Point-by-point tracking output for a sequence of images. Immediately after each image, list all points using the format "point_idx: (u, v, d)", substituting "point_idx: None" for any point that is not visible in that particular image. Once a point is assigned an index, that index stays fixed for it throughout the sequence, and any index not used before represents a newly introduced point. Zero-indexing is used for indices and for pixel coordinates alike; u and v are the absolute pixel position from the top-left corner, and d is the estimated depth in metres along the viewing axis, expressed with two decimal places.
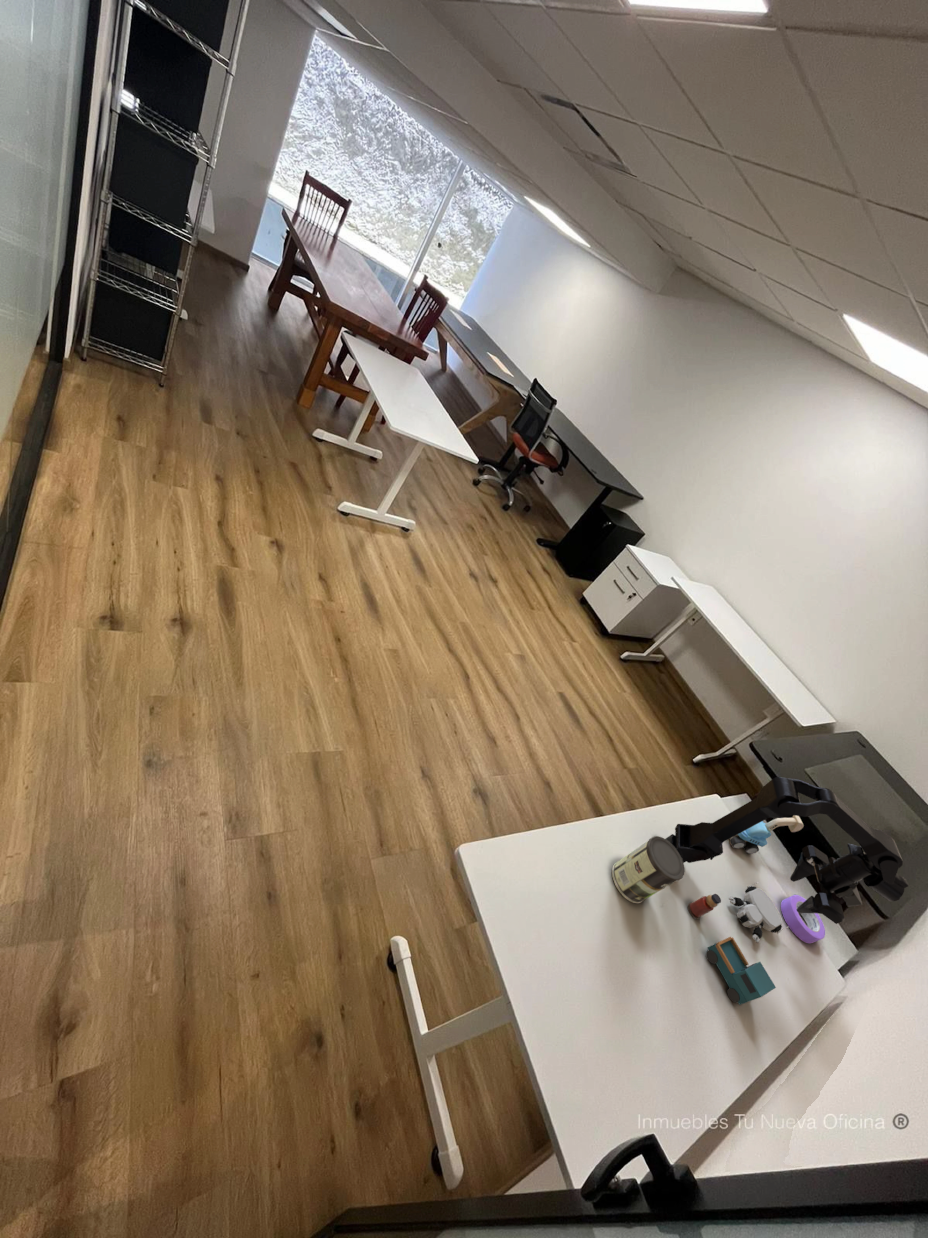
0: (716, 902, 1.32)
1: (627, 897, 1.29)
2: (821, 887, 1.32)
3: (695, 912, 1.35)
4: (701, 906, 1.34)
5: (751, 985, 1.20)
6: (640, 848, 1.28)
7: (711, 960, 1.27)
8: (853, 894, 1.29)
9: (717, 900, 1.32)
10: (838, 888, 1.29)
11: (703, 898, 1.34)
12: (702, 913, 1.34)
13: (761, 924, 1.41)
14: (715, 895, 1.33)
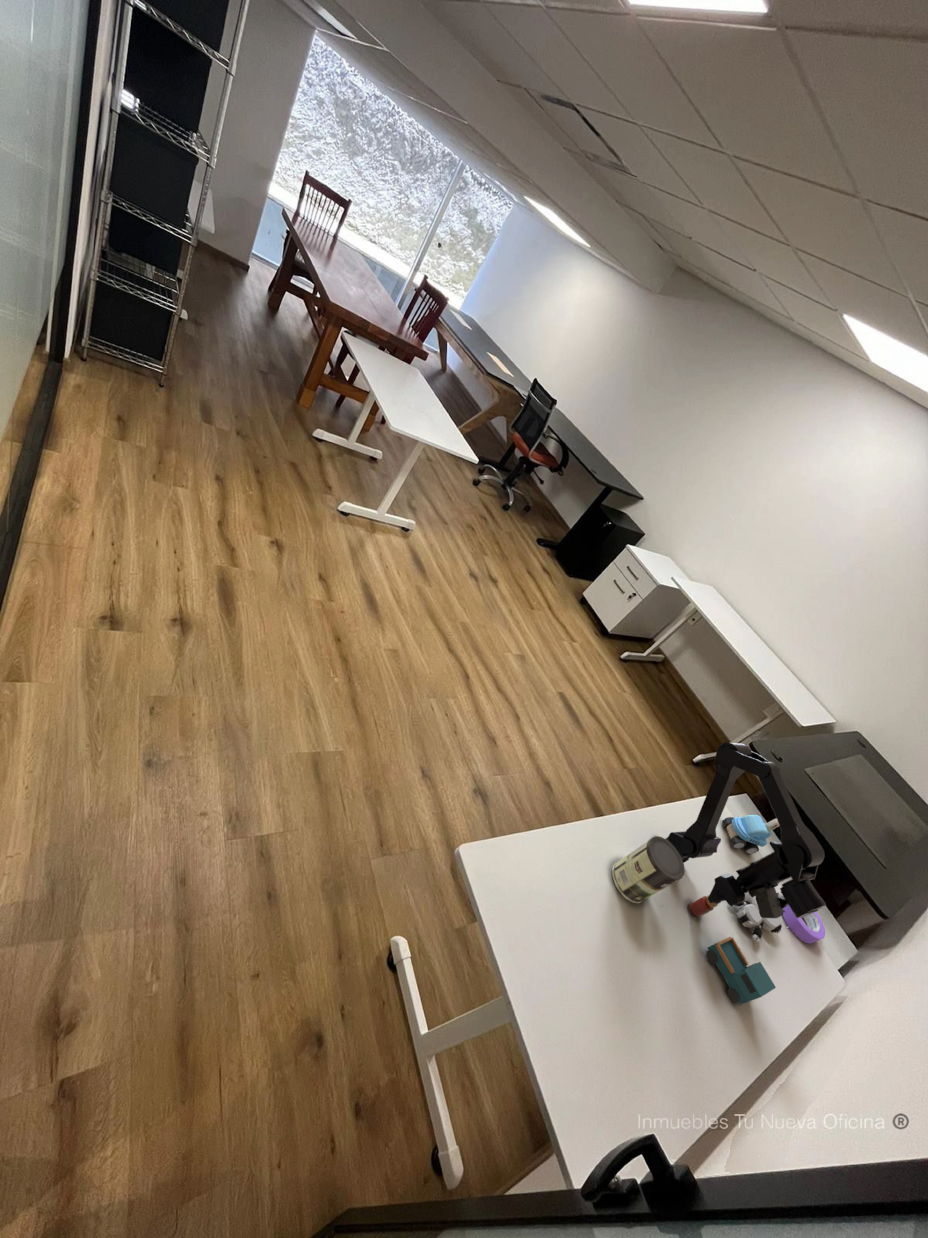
0: (716, 902, 1.32)
1: (627, 897, 1.29)
2: None
3: (695, 912, 1.35)
4: (701, 906, 1.34)
5: (751, 985, 1.20)
6: (640, 848, 1.28)
7: (711, 960, 1.27)
8: (766, 898, 1.21)
9: None
10: (752, 883, 1.24)
11: (703, 898, 1.34)
12: (702, 913, 1.34)
13: (761, 924, 1.41)
14: None
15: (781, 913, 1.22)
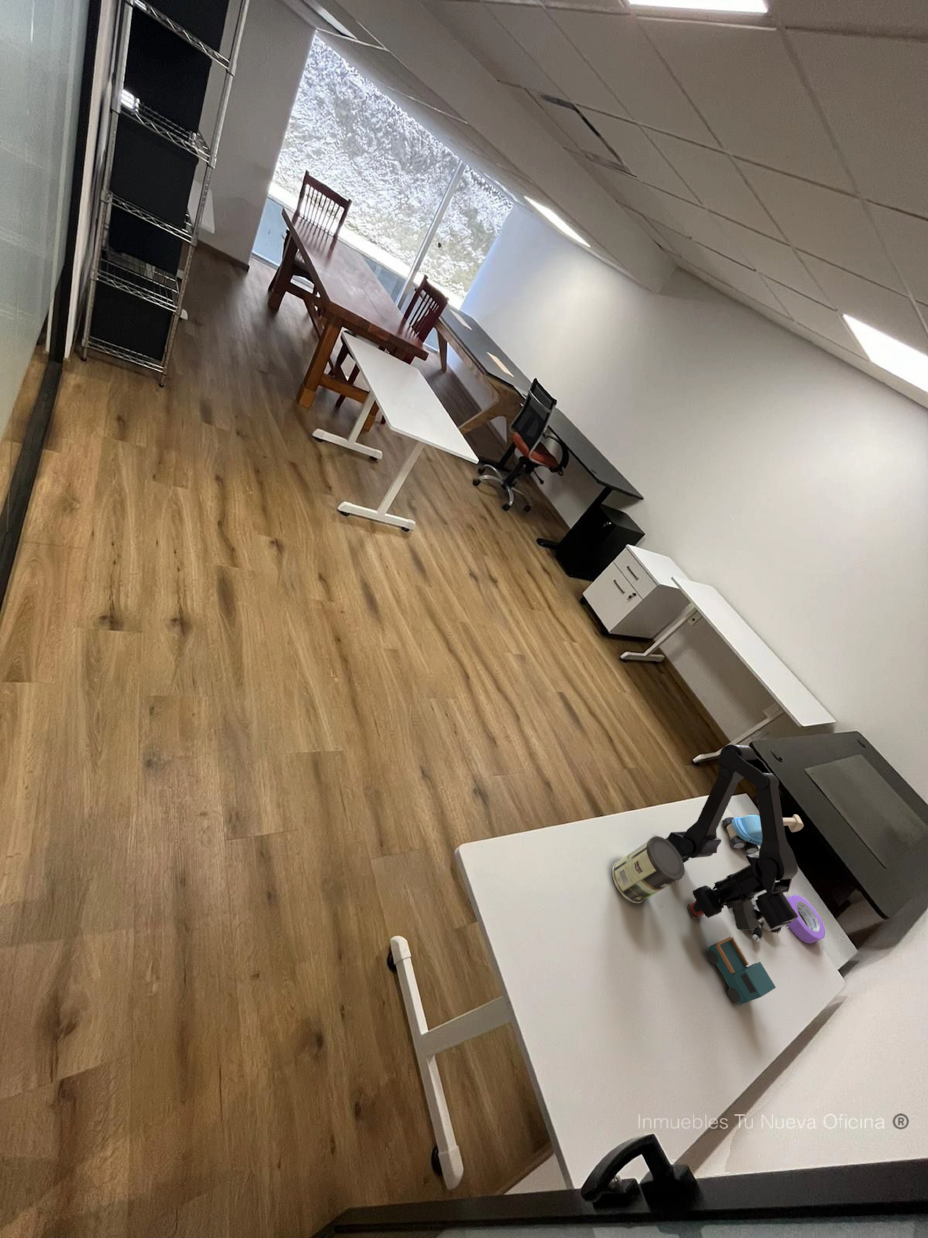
0: None
1: (627, 897, 1.29)
2: None
3: (695, 912, 1.35)
4: None
5: (751, 985, 1.20)
6: (640, 848, 1.28)
7: (711, 960, 1.27)
8: (742, 910, 1.25)
9: None
10: (729, 896, 1.28)
11: None
12: (702, 913, 1.34)
13: (761, 924, 1.41)
14: None
15: (757, 924, 1.26)
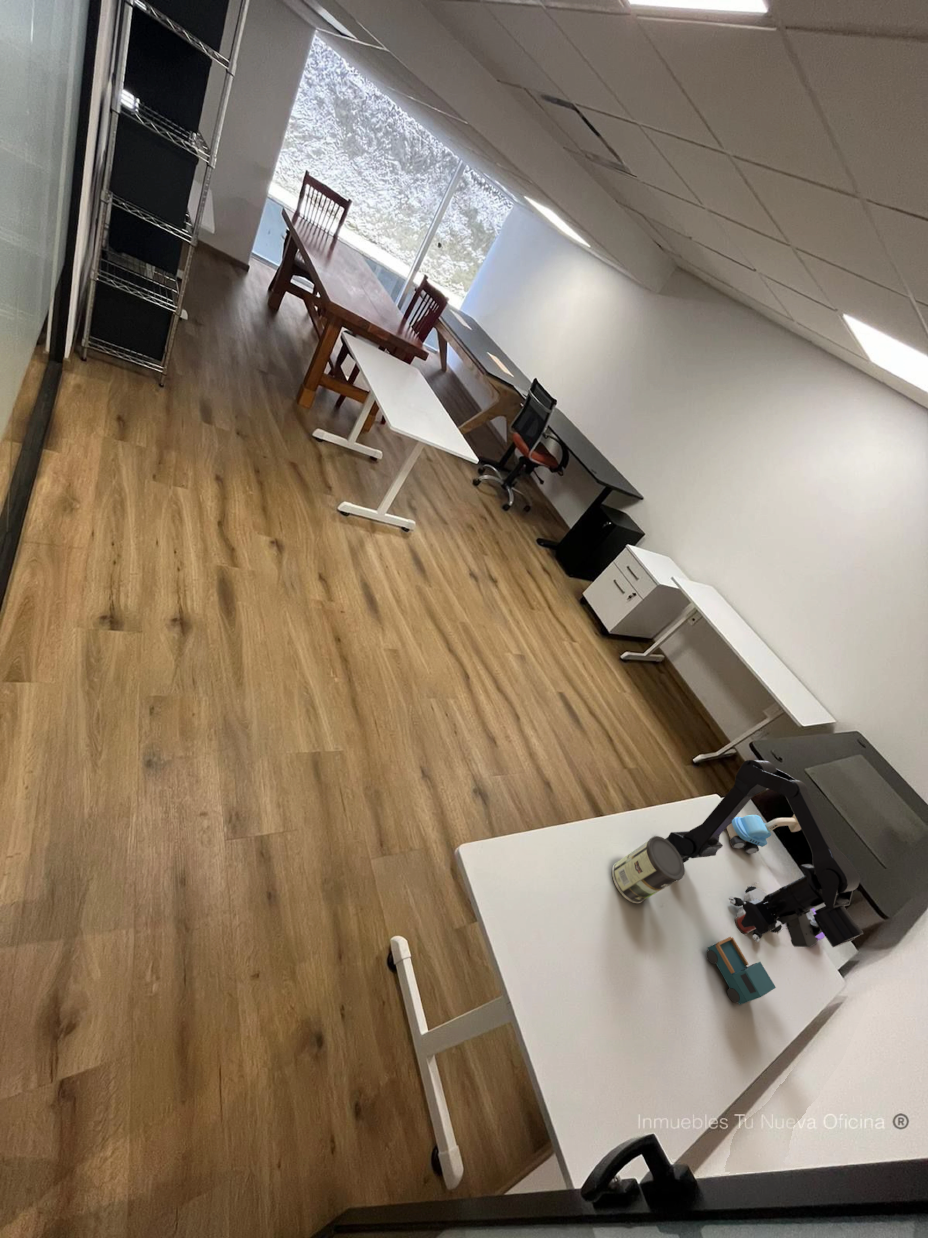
0: None
1: (627, 897, 1.29)
2: None
3: (743, 927, 1.25)
4: None
5: (751, 985, 1.20)
6: (640, 848, 1.28)
7: (711, 960, 1.27)
8: (798, 925, 1.15)
9: None
10: (782, 910, 1.17)
11: None
12: (751, 929, 1.24)
13: None
14: None
15: (814, 941, 1.15)
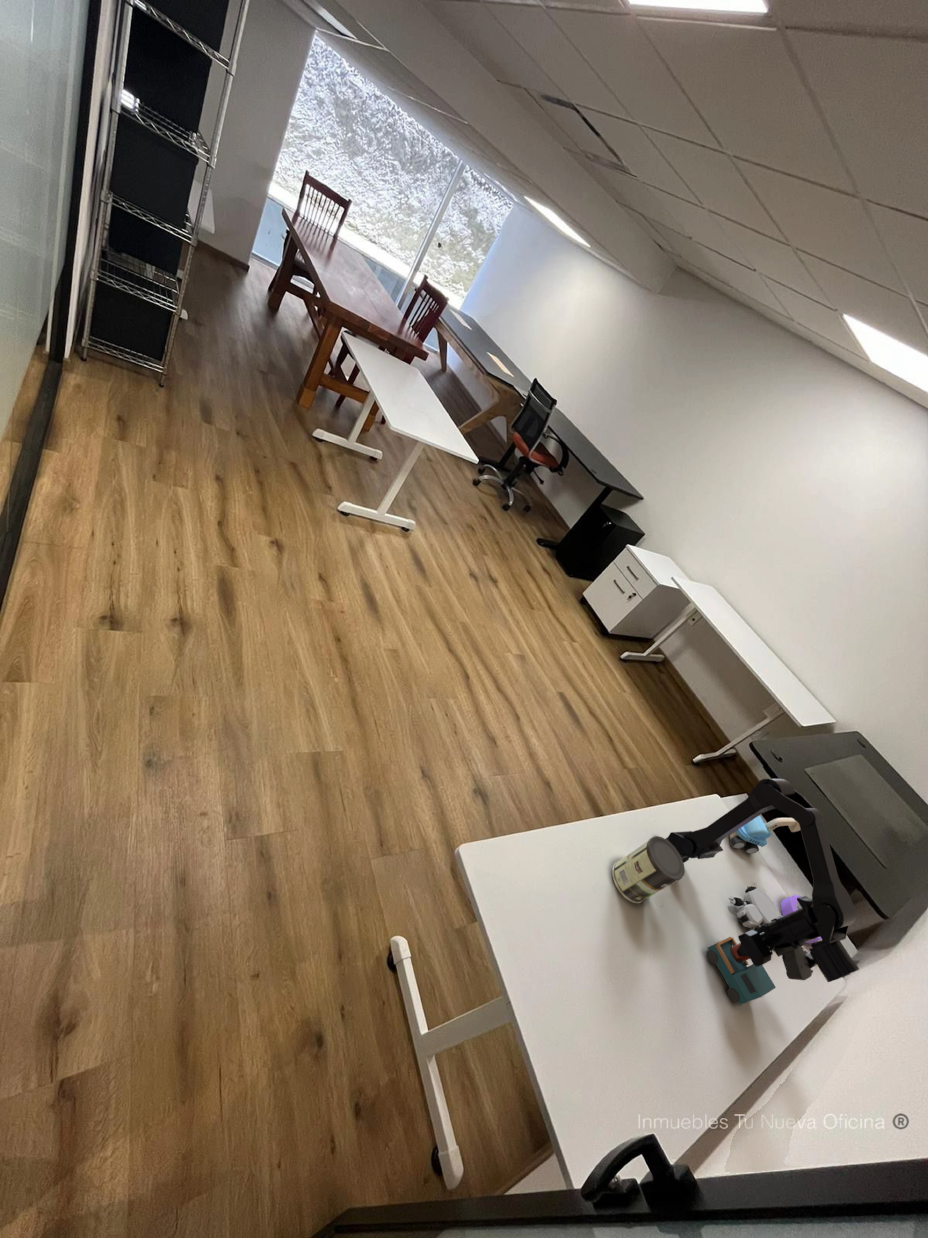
0: None
1: (627, 897, 1.29)
2: None
3: (739, 957, 1.24)
4: None
5: (751, 985, 1.20)
6: (640, 848, 1.28)
7: (711, 960, 1.27)
8: (794, 958, 1.15)
9: None
10: (778, 941, 1.17)
11: None
12: (747, 958, 1.24)
13: (761, 924, 1.41)
14: None
15: (809, 974, 1.15)
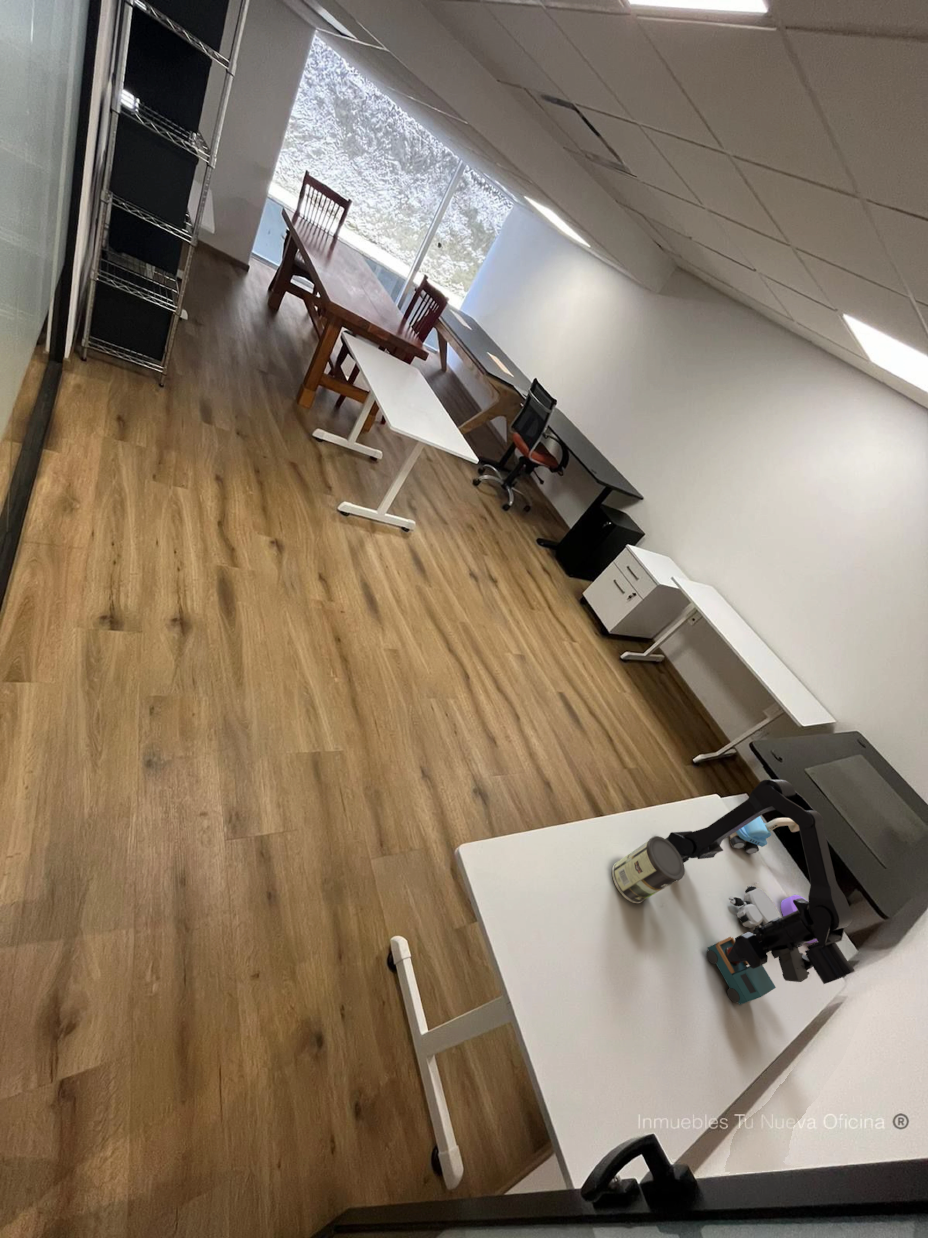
0: None
1: (627, 897, 1.29)
2: None
3: None
4: None
5: (751, 985, 1.20)
6: (640, 848, 1.28)
7: (711, 960, 1.27)
8: (790, 960, 1.15)
9: None
10: (774, 943, 1.18)
11: None
12: None
13: (761, 924, 1.41)
14: None
15: (806, 976, 1.16)
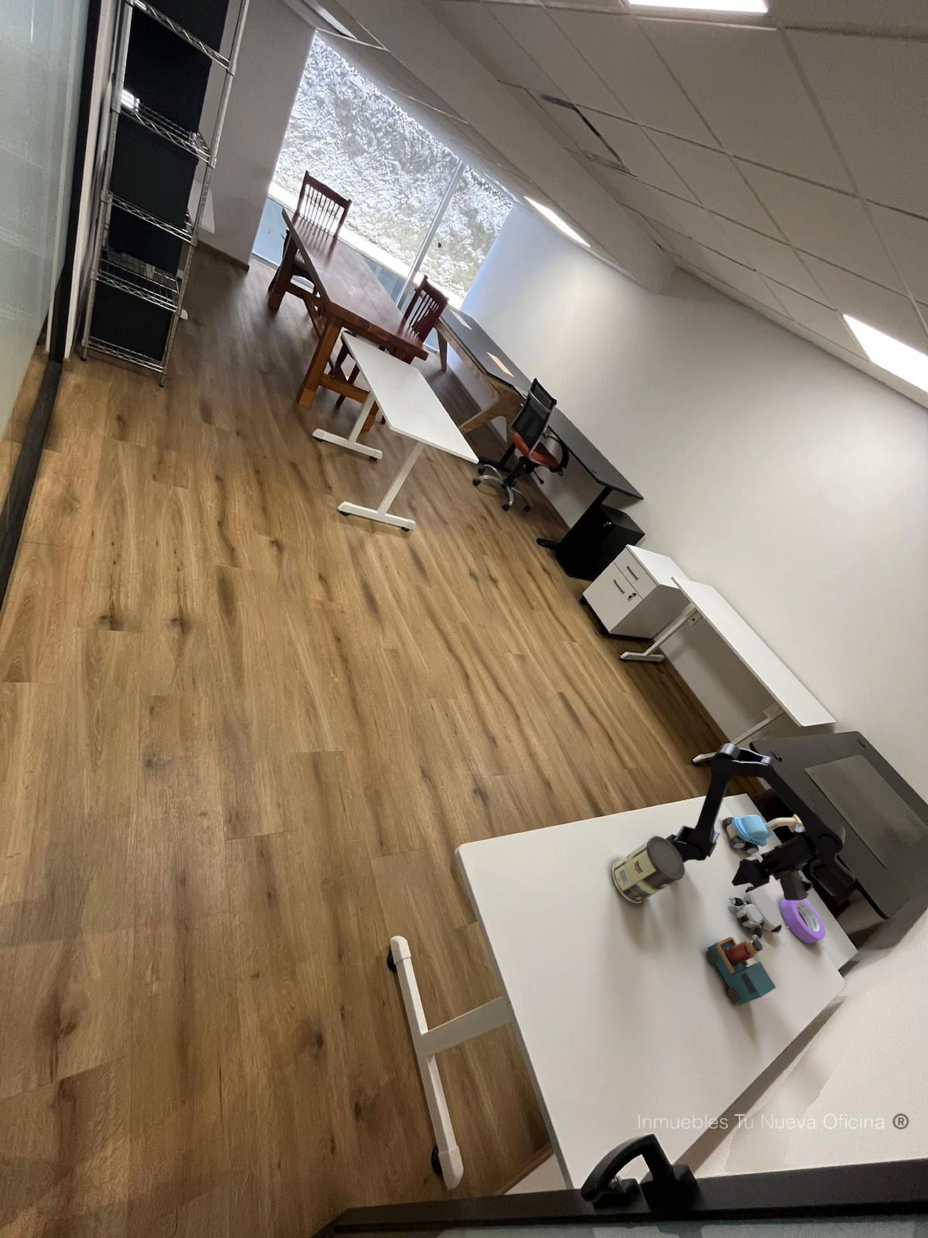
0: (757, 949, 1.22)
1: (627, 897, 1.29)
2: None
3: (734, 959, 1.25)
4: (741, 952, 1.24)
5: (751, 985, 1.20)
6: (640, 848, 1.28)
7: (711, 960, 1.27)
8: (791, 880, 1.23)
9: (758, 947, 1.22)
10: (776, 866, 1.26)
11: (742, 944, 1.25)
12: (742, 960, 1.24)
13: (761, 924, 1.41)
14: (756, 941, 1.23)
15: (805, 896, 1.24)
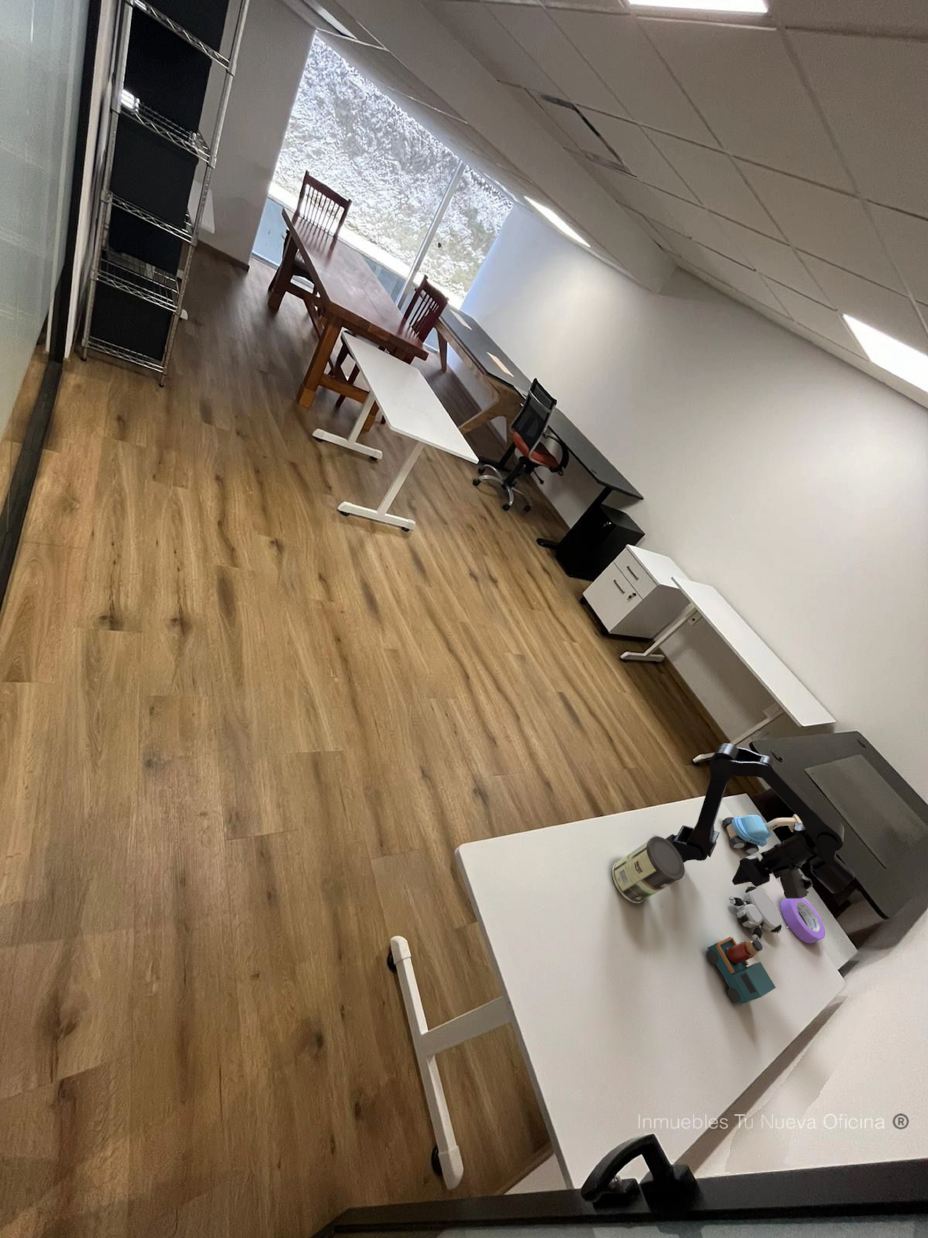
0: (757, 949, 1.22)
1: (627, 897, 1.29)
2: None
3: (734, 959, 1.25)
4: (741, 952, 1.24)
5: (751, 985, 1.20)
6: (640, 848, 1.28)
7: (711, 960, 1.27)
8: (791, 879, 1.24)
9: (758, 947, 1.22)
10: (776, 865, 1.26)
11: (742, 944, 1.25)
12: (742, 960, 1.24)
13: (761, 924, 1.41)
14: (756, 941, 1.23)
15: (805, 894, 1.24)
